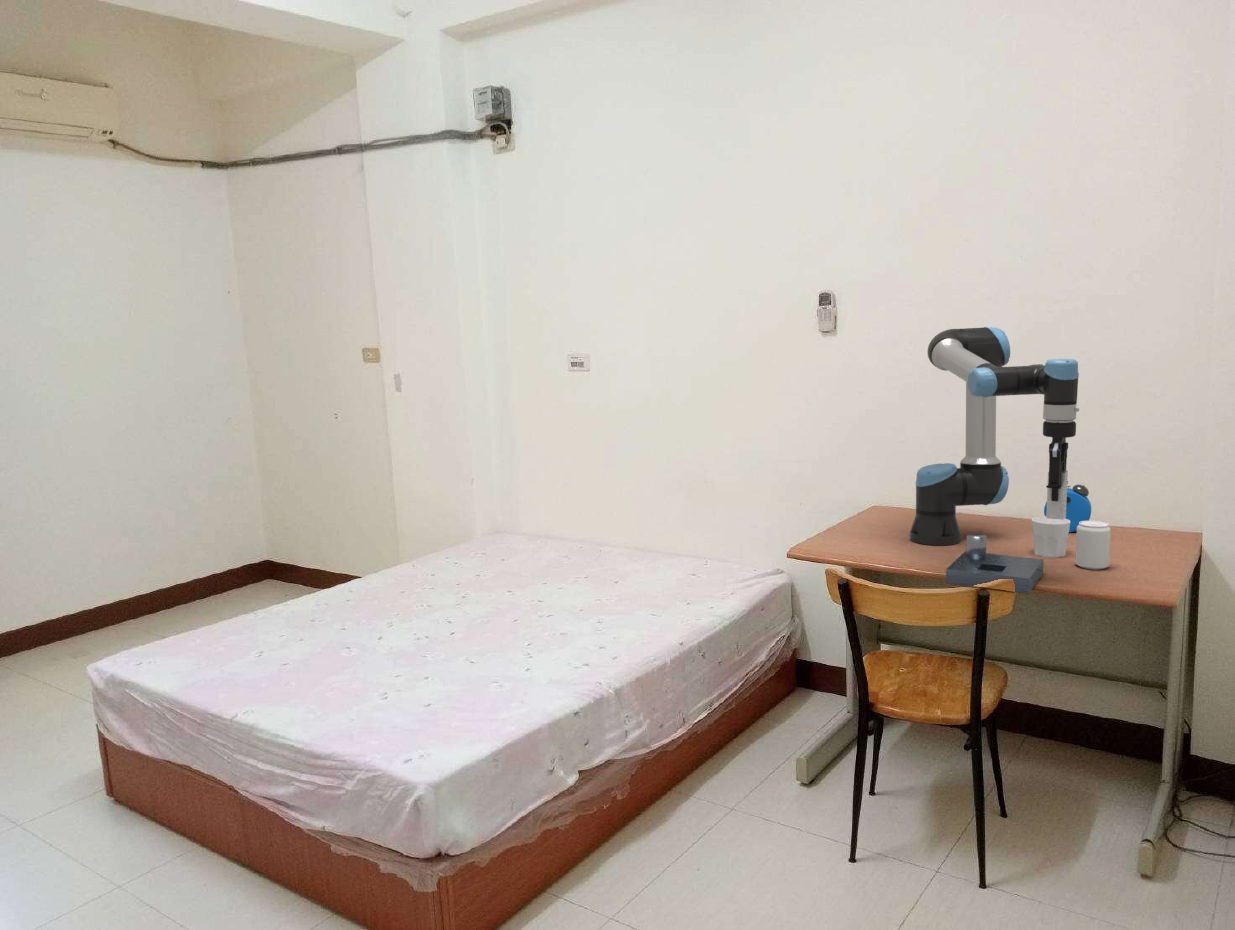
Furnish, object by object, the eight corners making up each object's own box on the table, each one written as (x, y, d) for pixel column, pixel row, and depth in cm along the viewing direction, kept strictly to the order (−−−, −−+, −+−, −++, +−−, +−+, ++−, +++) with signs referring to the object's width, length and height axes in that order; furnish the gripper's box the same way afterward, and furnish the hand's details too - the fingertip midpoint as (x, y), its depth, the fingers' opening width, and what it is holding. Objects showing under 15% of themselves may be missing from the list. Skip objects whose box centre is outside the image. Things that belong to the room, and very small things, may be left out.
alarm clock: (1090, 530, 285) (1092, 483, 282) (1089, 534, 279) (1091, 487, 277) (1044, 527, 291) (1046, 481, 289) (1043, 531, 286) (1044, 484, 283)
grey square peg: (1046, 518, 232) (1048, 472, 230) (1048, 515, 235) (1050, 469, 233) (1063, 519, 229) (1065, 473, 227) (1065, 516, 233) (1067, 470, 231)
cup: (1022, 552, 263) (1023, 519, 261) (1047, 547, 266) (1049, 515, 265) (1051, 560, 253) (1052, 525, 252) (1077, 555, 257) (1078, 521, 256)
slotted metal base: (945, 583, 236) (946, 546, 234) (965, 565, 252) (965, 530, 251) (1028, 594, 225) (1029, 555, 223) (1043, 573, 241) (1044, 537, 239)
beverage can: (1069, 563, 250) (1070, 521, 248) (1097, 561, 250) (1099, 519, 248) (1086, 571, 242) (1088, 527, 240) (1115, 569, 242) (1117, 525, 240)
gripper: (1071, 425, 219) (1067, 519, 223) (1080, 417, 233) (1077, 505, 237) (1037, 424, 223) (1034, 516, 227) (1048, 416, 237) (1045, 503, 241)
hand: (1056, 511), depth 232 cm, fingers closed on grey square peg, 4 cm apart
